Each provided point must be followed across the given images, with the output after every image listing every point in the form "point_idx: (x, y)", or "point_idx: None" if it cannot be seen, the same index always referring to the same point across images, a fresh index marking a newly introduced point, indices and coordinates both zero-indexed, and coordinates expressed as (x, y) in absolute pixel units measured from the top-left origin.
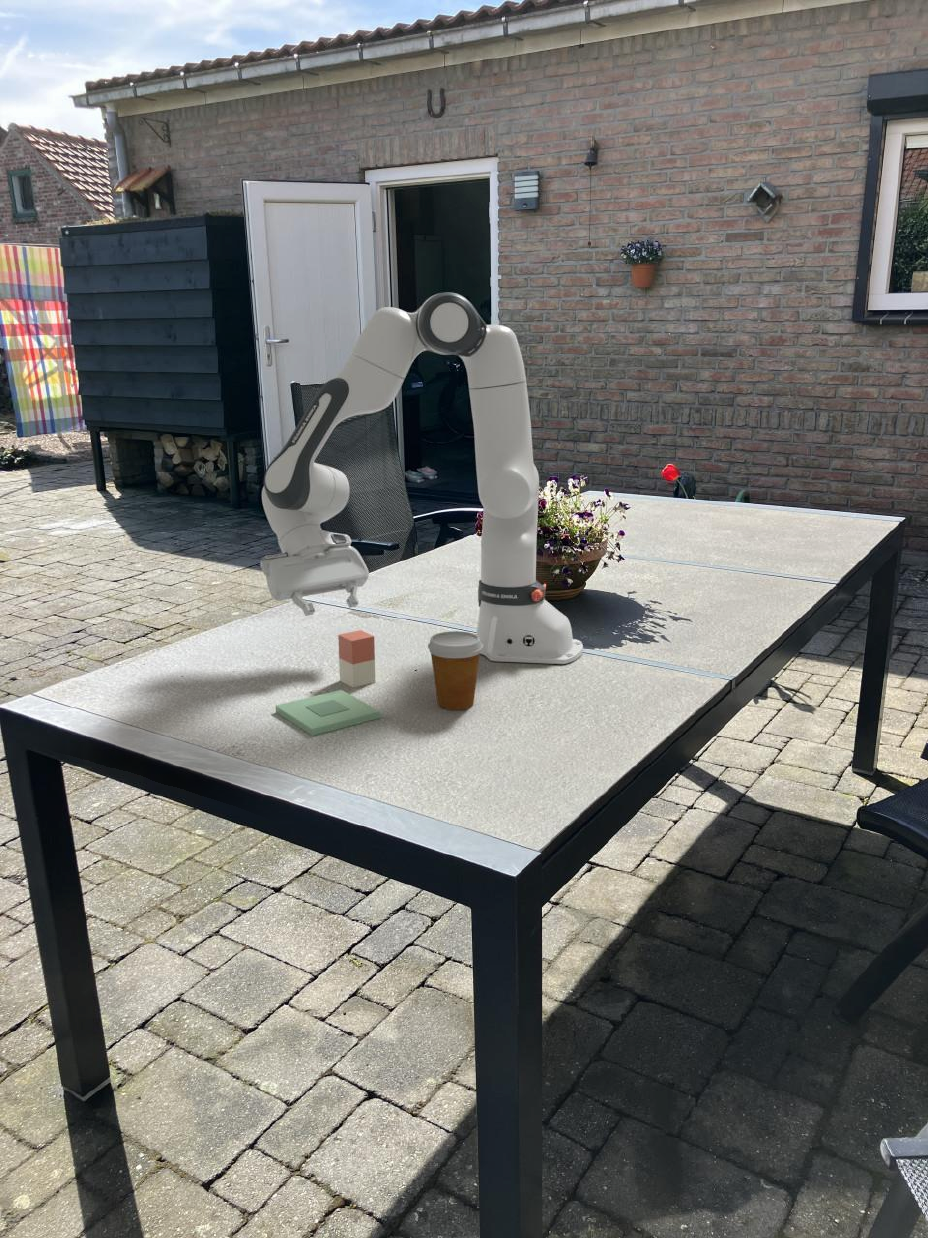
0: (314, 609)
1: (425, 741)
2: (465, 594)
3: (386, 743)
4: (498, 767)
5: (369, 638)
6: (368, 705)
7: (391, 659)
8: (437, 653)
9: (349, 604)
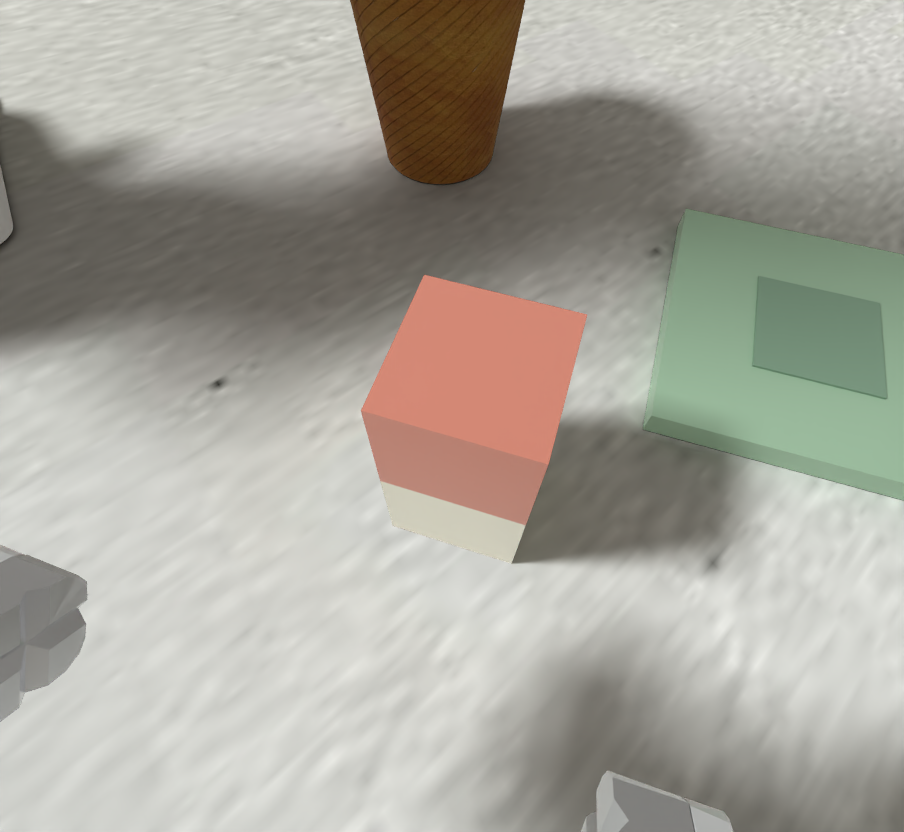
0: (619, 775)
1: (691, 94)
2: None
3: (777, 139)
4: None
5: (458, 287)
6: (681, 255)
7: (113, 560)
8: None
9: (56, 644)
